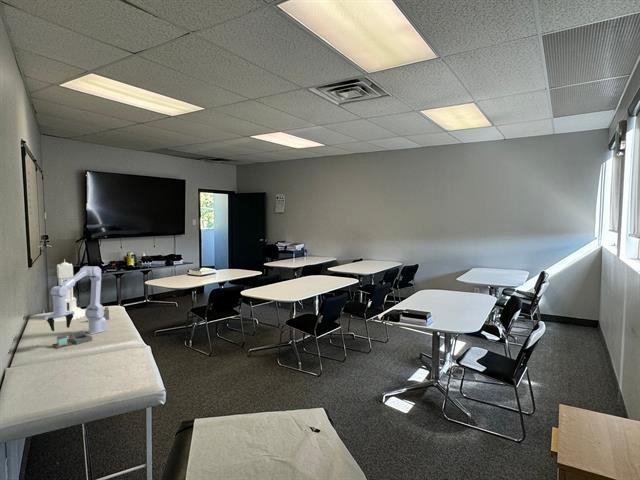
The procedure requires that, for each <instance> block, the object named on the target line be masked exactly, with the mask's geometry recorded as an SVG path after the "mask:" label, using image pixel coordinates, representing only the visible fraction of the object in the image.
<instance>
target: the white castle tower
mask: <svg viewBox="0 0 640 480" xmlns="http://www.w3.org/2000/svg"><path fill="white" fill-rule="evenodd" d="M63 260H64V261H63V262H62V263H59V264H58V263H57V265H56V275H57V276H56V277H57V278H58V280H57V282H58V285H59V284H61V283H62V282H63V281H65V279H68V278H70V279H71V278H72V277H73V276H74V266H73V263H69V262H66V259H65V258H64V259H63ZM77 300H78V299H77V298H76V297H75V296H74V286H73V287H72V288H71V289H69V290H68V292H67V294H66V295H65V308H66V312H70V311H74V313H75V315H73V318H72V320H71V321H73V319H74V320H77V319H76V318H78V319H80V317H82V318H84V317H83V316H85V312H86V309H82V308H81V307H78V306H77V305H78V304H77ZM52 314H54V310H53V311H52V312H51V313H50V314H49V315H52ZM53 320H54V323H55V322H57V323H58V322H66V316H63V317H58V318H53ZM45 321H46V322H47V320H45Z"/></svg>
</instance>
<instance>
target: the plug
mask: <svg viewBox="0 0 640 480" xmlns="http://www.w3.org/2000/svg"><path fill="white" fill-rule="evenodd" d="M67 341H68V336H67V335H66V334H63V335H58V336H56V343H57V345H58V346H61V345H65V344H67Z"/></svg>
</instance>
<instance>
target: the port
mask: <svg viewBox="0 0 640 480" xmlns="http://www.w3.org/2000/svg"><path fill="white" fill-rule="evenodd" d="M67 335H68V336H67V340H68V342H70V343H72V344H75V345H80V344H85V343H88V342H92V341H93V336H92V335H90V334H87V333H85V330H79V331H75V332H68V334H67ZM84 342H85V343H84Z"/></svg>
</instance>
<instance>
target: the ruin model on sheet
mask: <svg viewBox="0 0 640 480" xmlns="http://www.w3.org/2000/svg"><path fill="white" fill-rule="evenodd" d="M103 310H104V315H103V317H105V319H106V321H108V320H110V309H109V306H105V307H104V309H103Z"/></svg>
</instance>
